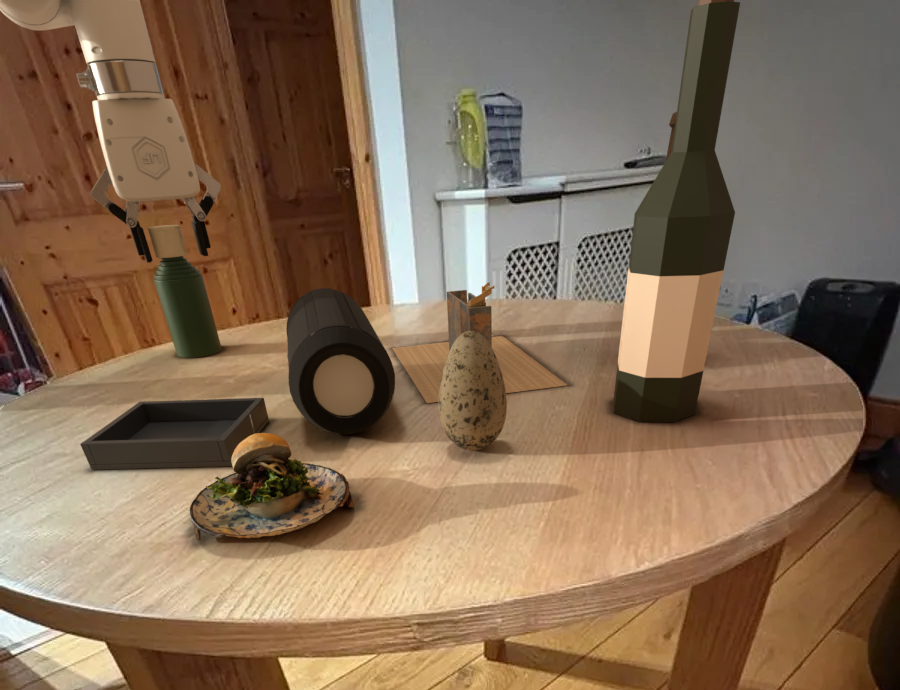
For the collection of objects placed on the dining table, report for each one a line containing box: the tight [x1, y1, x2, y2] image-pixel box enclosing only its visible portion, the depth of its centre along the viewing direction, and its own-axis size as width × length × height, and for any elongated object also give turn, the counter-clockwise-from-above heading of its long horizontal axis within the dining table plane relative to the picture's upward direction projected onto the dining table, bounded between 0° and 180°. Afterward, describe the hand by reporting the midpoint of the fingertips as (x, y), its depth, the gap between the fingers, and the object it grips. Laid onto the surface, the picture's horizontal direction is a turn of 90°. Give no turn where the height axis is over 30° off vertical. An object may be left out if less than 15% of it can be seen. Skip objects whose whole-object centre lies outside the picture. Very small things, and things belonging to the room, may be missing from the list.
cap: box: [147, 224, 188, 259], centre depth 80 cm, size 4×4×3 cm
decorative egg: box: [438, 331, 508, 451], centre depth 51 cm, size 6×6×10 cm
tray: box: [79, 397, 270, 471], centre depth 58 cm, size 13×11×2 cm
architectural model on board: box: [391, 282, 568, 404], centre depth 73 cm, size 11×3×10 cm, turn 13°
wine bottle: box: [612, 0, 741, 423], centre depth 51 cm, size 8×8×30 cm
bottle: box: [153, 256, 223, 359], centre depth 83 cm, size 6×6×15 cm
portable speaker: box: [285, 287, 396, 436], centre depth 63 cm, size 26×10×10 cm, turn 13°
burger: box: [189, 410, 355, 541], centre depth 44 cm, size 12×12×8 cm
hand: (176, 257), depth 81 cm, fingers open, 6 cm apart
